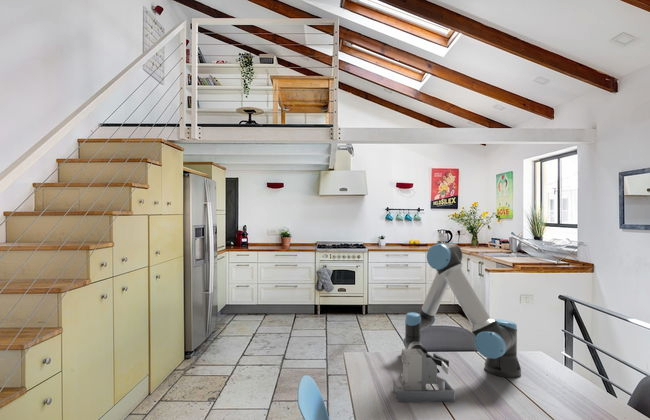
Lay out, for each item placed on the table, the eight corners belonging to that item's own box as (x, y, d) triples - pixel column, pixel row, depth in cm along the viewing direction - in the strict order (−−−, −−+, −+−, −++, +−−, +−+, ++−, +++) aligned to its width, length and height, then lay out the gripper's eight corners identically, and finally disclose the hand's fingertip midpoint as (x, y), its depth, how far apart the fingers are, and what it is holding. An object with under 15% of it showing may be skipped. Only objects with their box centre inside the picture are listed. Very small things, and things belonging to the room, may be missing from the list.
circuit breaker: (440, 393, 149) (441, 355, 149) (405, 393, 148) (405, 355, 149) (434, 384, 157) (434, 348, 157) (400, 385, 156) (401, 348, 156)
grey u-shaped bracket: (446, 390, 151) (446, 380, 151) (454, 402, 142) (454, 391, 142) (392, 390, 151) (392, 380, 151) (397, 401, 142) (397, 391, 142)
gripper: (443, 360, 178) (460, 379, 157) (391, 359, 178) (401, 379, 156) (444, 344, 178) (460, 361, 157) (391, 343, 178) (401, 361, 156)
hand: (431, 370), depth 157 cm, fingers open, 13 cm apart
